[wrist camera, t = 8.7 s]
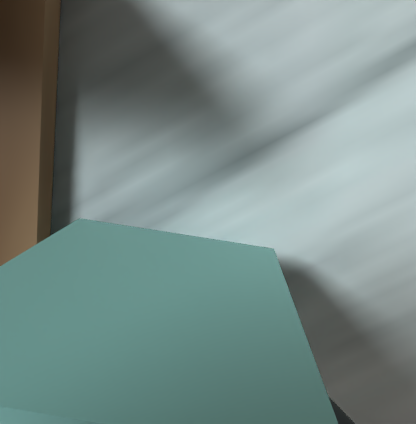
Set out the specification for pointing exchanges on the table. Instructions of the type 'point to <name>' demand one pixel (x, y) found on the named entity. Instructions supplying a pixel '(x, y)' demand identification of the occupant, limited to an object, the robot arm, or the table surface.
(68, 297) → the block
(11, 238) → the crate
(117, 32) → the table surface
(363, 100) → the table surface
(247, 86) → the table surface
